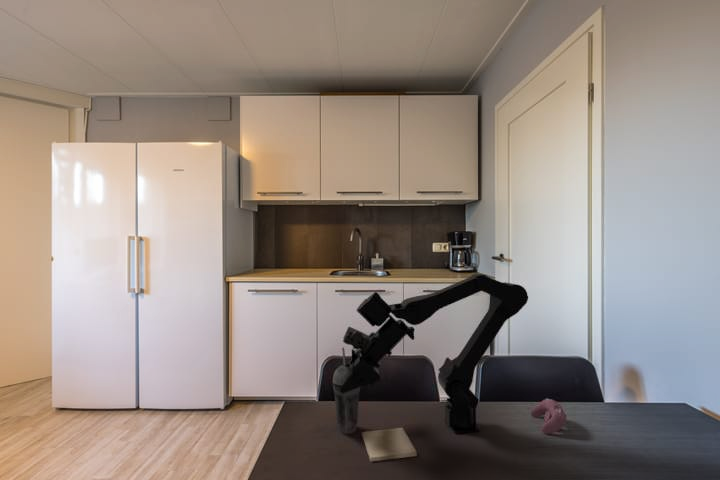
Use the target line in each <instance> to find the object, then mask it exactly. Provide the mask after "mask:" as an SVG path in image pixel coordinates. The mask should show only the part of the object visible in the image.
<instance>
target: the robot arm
mask: <svg viewBox="0 0 720 480" xmlns="http://www.w3.org/2000/svg"><path fill="white" fill-rule="evenodd" d="M480 292H483V293H485V294H488V295H489V296H490V298H489V306H488V310H487V312H486V313H485V314H484V316H483V318H482V319H481V321H480V322H479V324H478V325H477V327H476V328H475V330H474V331H473V333H472V334H471V336H470V337H469V339H468V340H467V342H466V344H465V345H464V347H463V348H462V350H461V351H460V353H459V354H458V356H456V357H455V358H453V359H450V357H449V356H447V357H446V358H445V360H444V362H443V364H442V365H441V367H439V368H438V371H439V372H438V375H437V381H438V384H439V385H440V387H441V388H442V390H443V391H444V393H445V394H446V396H447V397H448V398H446V405H444V418H443V419H444V422H445V423H446V424H447V426H448V427H449V428H450V429H451V430H452V431H453V432H454V433H455V434H461V433H471V432H479V431H480V427H479V426H478V425H477V411H476V409H477V407H478V404H479V401H480V400H479V397H477V396H476V395H475V393H474V392H473V391H472V389H471V386H472V384H473V381H474V374H475V369H476V367H477V366H478V364H479V363H480V361H481V360H482V358H483V357H484V355H485V354H486V352H487V350H488V349H489V347H490V346H491V344H493V343H492V342H493V341H494V339H495V338H496V337H497V335H498V334H499V332H500V330H501V329H502V327H503V326H504V324H505V323H506V322H507V321H508V319H510V318H512V317H515V315H517V314H518V313H519V312H520V311H521V310H522V309H523V307H525V306H526V304H527V302H528V301H529V295H528V292H527V290H526V288H525V287H524V286H522V285H520V284H515V283H512V282H511V283H510V282H507V281H506V282H504V281H503V282H502V281H499V280H496V279H494V278H491V277H489V276H487V275H486V274H481V273H474V274H472V275H471V276H469V277H467V278H465V279H462V280H460V281H458V282H455V283H453V284H451V285H448V286H446V287H443V288H441V289H439V290H437V291H435V292H432V293H429V294H428V293H427V294H421V295H418V296H411V297H408V298H405V299H404V300H402V301H401V302H399V303H392V304H388V303H387V302H386V301H385V300H384V299H383V298H382V297H381V295H380V294H379V293H378V292H377V291H374V292H373V293H372V294H371V295H370V296H368V297H367V298H365V299H364V300H363V301H362V302H361V303H360V304H359V306H358V307H357V308H356V312H357V313H358V314H359V315H360V316H362V317H361V318H363V319H365V321H366V322H367V323H368V324H369V325H370V326H371V327H375V326H376V327H379V328H378V329H377V330H376V331H375V332H370V333H369V334H366V333H365V332H362V331H361V330H358V329H356V328H353V327H351V326H348V327H347V329H346V331H345V334H344V335H343V337H342V338H343V340H342V341H343V343H344V344H346V345H350V346H352V348H351V359H350V361H349V362H348V364H351V365H352V372H351V374H350V375H349V377H348V378H347V380H346V381H345V382H344V384H343V385H342V387H341V388H340V392H341V393H346V392H348V391H351V390H354V389H356V388H359V387H360V388H362V387H365V386H371V387H375V386H376V385H377V384H378V383H379V382H380V380H381V379H380V372H379V371H380V370H379V367H381V362H382V361H383V360H384V359H385V358H386V357H387V356H388V357H390V356H392V354H393V353H392V350H393V349H394V348H396V346H397V345H398V344H400V342H401V341H402V340H403V339H404V337H406V335H407V337H409V338H410V339H411V340H413V341H414V340H415V327H413V326H417V325H421V324H422V323H423V322H425V321H426V320H428V319H429V318H431V317H432V316H434V314H435V313H436V312H438V311H439V310H441V309H443V308H445V307H447V306H450V305H452V304H454V303H456V302H459V301H461V300H463V299H464V300H465V299H466V298H468V297H470V296H473V295H475V294H477V293H480ZM391 314H392V315H393V316H392V315H391ZM394 317H395V318H396V319H397V320H396V319H395V318H394ZM403 320H405V322H406V323H407V324H409V325H412V326H409V325H407V324H406V323H405V322H404V321H403Z"/></svg>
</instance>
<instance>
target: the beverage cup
mask: <svg viewBox="0 0 720 480" xmlns="http://www.w3.org/2000/svg"><path fill="white" fill-rule="evenodd" d="M341 349H342V350H341V352H342V361H343V363H342V365H340V366H338V367H337V368H336V369H335V371H334V372H333V377H332V387H333V389H332V390H333V391H334V392H333V393H334V400H335V401H334V402H335V403H334V404H335V413H336V424H337V431H338V432H339V433H340V434H343V435H350V434H353V433H355V432H356V431H357V425H358V417H359V416H358V415H359V402H360V401H359V400H360V391H361V387H359V388H356V389H354V390H351V391H348V392H346V393H341V392H340V388H341V387H342V385H343V384H344V382H345V381H346V380H347V378H348V377H349V375H350V374H351V372H352V365H351V364H349V363H346V353H345V352H346V351H345V347H343V346H342V348H341Z"/></svg>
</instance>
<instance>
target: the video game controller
mask: <svg viewBox="0 0 720 480" xmlns="http://www.w3.org/2000/svg"><path fill="white" fill-rule="evenodd" d="M530 415H531V416H532V418H533V417H534V418H538V417H542V416H544V421H545V422H544V423H543V424H542V425H541V427H540V428H541V429H540V430H541V432H542V434H545V435H551V434H554V433H556V432H557V431H558V430H560V429H561V428H563V427H564V426H565V425H566V424H567V418H568V417H567V414H566V413H565V410H564V409H563V407H562V405H561V404H560V403H559V402H557V401H556V400H554V399H549V398H547V397H546V399H543V400H542V401H541V402H540V403H537V404H536V405H535V406H534V407H532V408H531V410H530Z"/></svg>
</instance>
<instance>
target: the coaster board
mask: <svg viewBox="0 0 720 480" xmlns="http://www.w3.org/2000/svg"><path fill="white" fill-rule="evenodd" d="M361 437H362V439H363V443H364V445H365V449H366V452H367V454H368V458H369V462H379V461H386V460H395V459H400V458H401V459H403V458H411V457H417V456H418V452H417V450H416V448H415V446H414V445H413V443H412V441H411V440H410V438H409V437H408V435H407V432H406V431H405V430H404V428H403V427H397V428H388V429H387V428H386V429H381V430H370V431H369V430H368V431H361Z"/></svg>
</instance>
